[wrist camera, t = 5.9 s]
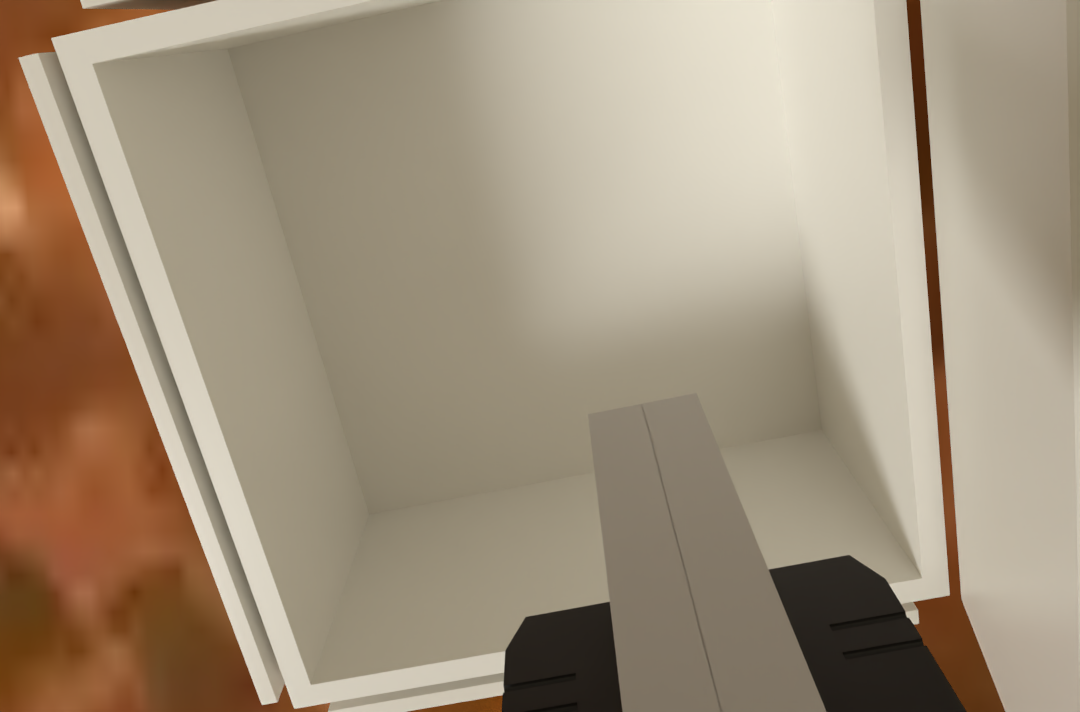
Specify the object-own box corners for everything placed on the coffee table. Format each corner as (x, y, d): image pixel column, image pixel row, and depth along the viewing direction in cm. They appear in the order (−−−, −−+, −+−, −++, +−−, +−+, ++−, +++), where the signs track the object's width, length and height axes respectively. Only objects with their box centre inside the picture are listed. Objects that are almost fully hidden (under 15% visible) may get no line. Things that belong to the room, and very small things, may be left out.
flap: (1085, 914, 14) (1113, 914, 14) (1061, -243, 9) (1107, -255, 9) (961, 599, 22) (980, 597, 22) (910, -147, 17) (933, -153, 17)
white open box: (343, 548, 32) (272, 739, 24) (170, 6, 26) (-6, 3, 18) (839, 457, 31) (952, 623, 23) (773, -132, 25) (890, -204, 17)
